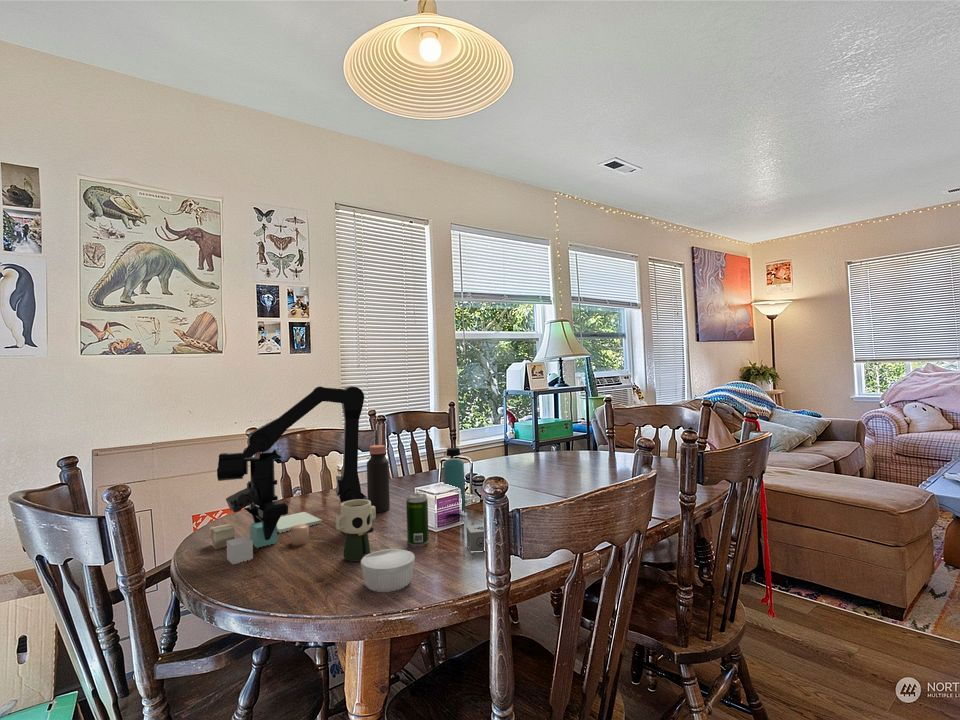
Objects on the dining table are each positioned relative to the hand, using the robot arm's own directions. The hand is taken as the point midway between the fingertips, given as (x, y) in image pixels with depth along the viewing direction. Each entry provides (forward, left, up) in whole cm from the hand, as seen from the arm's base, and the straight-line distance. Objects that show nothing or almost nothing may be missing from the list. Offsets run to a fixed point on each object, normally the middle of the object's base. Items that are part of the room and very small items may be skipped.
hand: (263, 537), depth 131 cm
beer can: (-29, -28, -2) cm, 40 cm away
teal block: (0, 0, -2) cm, 2 cm away
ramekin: (-44, -10, -2) cm, 45 cm away
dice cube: (-43, -36, -2) cm, 56 cm away
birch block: (+7, +8, -2) cm, 11 cm away
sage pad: (+11, -12, -2) cm, 16 cm away
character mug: (-27, -12, -2) cm, 30 cm away
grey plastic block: (-7, +8, -2) cm, 11 cm away
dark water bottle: (+5, -37, -2) cm, 37 cm away
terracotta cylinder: (-6, -7, -2) cm, 9 cm away
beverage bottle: (-17, -50, -2) cm, 53 cm away
